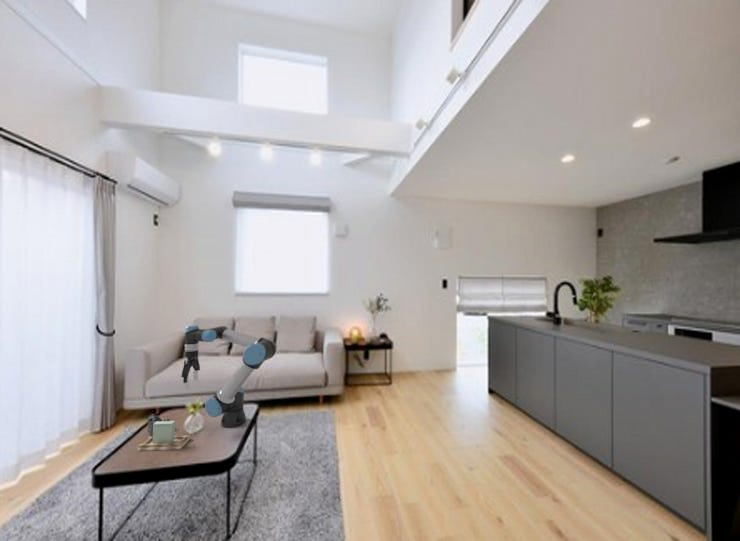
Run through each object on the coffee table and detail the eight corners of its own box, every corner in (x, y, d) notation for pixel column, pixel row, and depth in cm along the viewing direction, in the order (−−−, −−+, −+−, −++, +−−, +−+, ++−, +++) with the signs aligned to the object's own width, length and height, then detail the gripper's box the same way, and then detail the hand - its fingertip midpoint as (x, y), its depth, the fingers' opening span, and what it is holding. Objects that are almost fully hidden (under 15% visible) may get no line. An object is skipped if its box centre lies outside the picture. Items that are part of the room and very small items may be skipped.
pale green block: (174, 440, 186) (175, 420, 186) (171, 443, 182) (171, 423, 183) (156, 441, 185) (156, 421, 185) (152, 444, 181) (153, 424, 182)
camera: (172, 433, 197) (172, 416, 198) (150, 439, 190) (151, 422, 190) (166, 425, 208) (166, 409, 208) (145, 431, 200) (146, 414, 200)
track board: (190, 438, 191) (190, 434, 191) (180, 449, 179) (180, 444, 179) (150, 440, 189) (150, 435, 189) (137, 450, 177) (137, 446, 177)
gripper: (194, 346, 219) (193, 378, 218) (175, 354, 194) (174, 390, 194) (205, 346, 220) (205, 378, 219) (188, 354, 195) (187, 390, 194)
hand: (190, 384), depth 206 cm, fingers open, 13 cm apart
